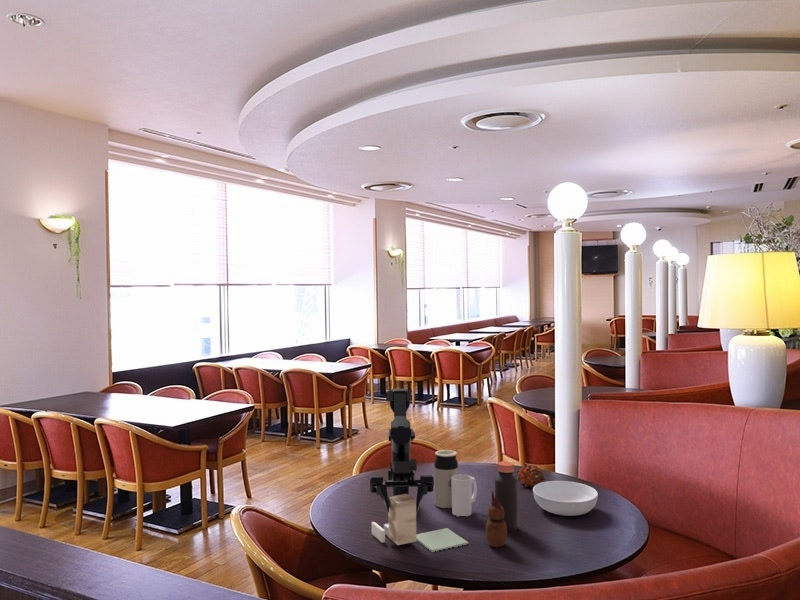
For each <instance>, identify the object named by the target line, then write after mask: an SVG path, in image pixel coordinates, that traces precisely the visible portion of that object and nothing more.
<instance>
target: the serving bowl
mask: <svg viewBox="0 0 800 600" xmlns="http://www.w3.org/2000/svg"><path fill="white" fill-rule="evenodd" d="M532 493H533V498H534V500H535V502H536V503H537V505H539V507H541V508H542V509H543V510H545V511H546V512H548V513H551V514H554V515H559V516H566V517H567V516H571V517H572V516H573V517H575V516H581V515H585V514H587V513H590V512H591V511H592V510H593V509H594V508H595V507H596V504H597V502H598V498H599V497H598V496H599V493H598V491H597V490H596V489H595V488H594V487H592V486H589V485H588V484H584V483H580V482H577V481H569V480H551V481H543V482H542V483H539V484H537V485H535V486H534V488H533V487H532Z"/></svg>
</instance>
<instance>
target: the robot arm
mask: <svg viewBox="0 0 800 600" xmlns="http://www.w3.org/2000/svg"><path fill="white" fill-rule="evenodd" d="M412 400H413V399H412V390H409V389H408V388H391V389H390V390H387V402H388V403H389V408H390V410H391V411H392V413H393V416H394V418H393V420H391V422H390V428H388V442H390V445H391V462H390V465H389V466H390V467H389V469H387V473H388V474H387V475H388V477H387V479H388V480H386V479H384V475H372V476H370V477H369V487H370V488H369V491H370V493H371V494H376V496H379V497H380V498H381V500H382V502H383V503H384V506H385V509H386V511H387V513H388V512H389V502H388V497H389V496H388V489H387V488H391V490H392V491H391V492H392V494H391V495H392V496H396V495H402V494H408V495H409V496H410V488H415V487H416V489H417V490H416V492H417V493H416V499H415V500H416V513H418V511H419V508H420V505H421V502H422V499H423V497H424V496H426V495H427V494H428V493H432V492H434V488H435V477H434V476H433V475H432V474H425V475H424V474H423V475H422V474H421V475H420V476H419V479H415V472H414V471H417V468H418V464H417V462H418V461H417V458H411V443H412V442H414V440H415V439H416V434H415V431H414V429H413V428H411V421H410V420H408V419H407V411H408V410H409V408H410V402H412Z"/></svg>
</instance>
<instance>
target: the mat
mask: <svg viewBox="0 0 800 600" xmlns="http://www.w3.org/2000/svg"><path fill="white" fill-rule="evenodd" d="M416 542H418V543H419V544H420V545H422V546H423V547H424V548H426V549H427V550H428V549H429V550H428V551H430V552H431V553H436V552H440V551H439V550H441V551H444V550H443V549H445V550H449V549H448V548H450V549H453V548H452V547H454V548H458V546H459V547H462V545H463V546H466V545H467V544H468V545H469V541H467V540H466V539H464V538H463V537H461V536H460V535H458V534H457V533H456V532H454V531H452V530H451V529H449V528H448V527H446V528H442V529H436V530H432V531H427V532H421V533H416ZM435 551H436V552H435Z"/></svg>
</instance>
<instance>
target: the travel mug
mask: <svg viewBox="0 0 800 600" xmlns="http://www.w3.org/2000/svg"><path fill="white" fill-rule="evenodd" d="M434 455H435V457H436V459H435V460H434V464H433V465H434V467H433V468H434V469H433V470H434V473H433V474H434V505H435V507H438V508H439V509H445V508H448V509H452V488H451V477H452V476H453V475H457V474H459V463H458V459H457V455H458V453H457V451H455V450H451V449H441V450H436V451H435V453H434Z"/></svg>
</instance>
